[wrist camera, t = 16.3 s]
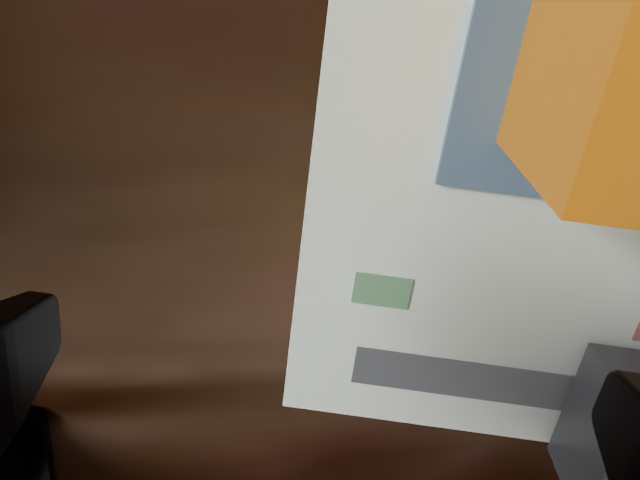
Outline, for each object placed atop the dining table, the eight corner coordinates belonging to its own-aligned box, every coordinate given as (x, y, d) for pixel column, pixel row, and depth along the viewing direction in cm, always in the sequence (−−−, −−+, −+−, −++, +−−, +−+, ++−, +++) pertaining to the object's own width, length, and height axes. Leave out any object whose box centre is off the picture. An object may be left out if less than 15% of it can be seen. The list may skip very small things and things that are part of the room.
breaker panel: (660, 424, 24) (689, 467, 22) (288, 373, 24) (281, 411, 22) (940, -132, 15) (1033, -150, 13) (355, -206, 15) (355, -236, 13)
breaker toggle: (622, 460, 22) (671, 549, 18) (546, 449, 22) (580, 536, 18) (675, 352, 19) (742, 430, 16) (589, 340, 19) (638, 416, 16)
